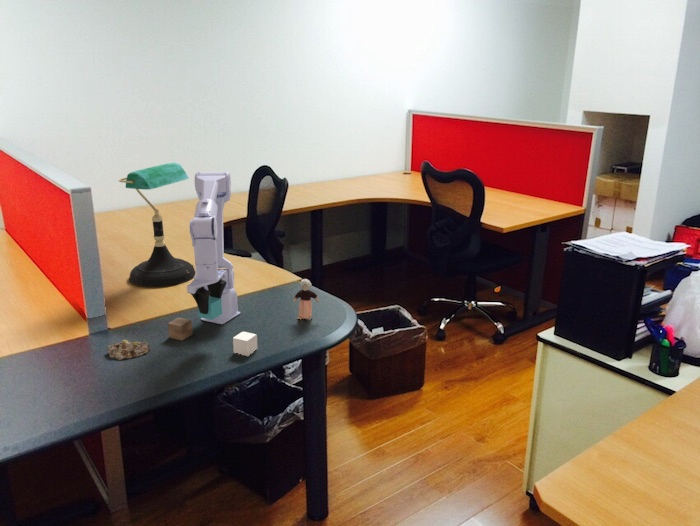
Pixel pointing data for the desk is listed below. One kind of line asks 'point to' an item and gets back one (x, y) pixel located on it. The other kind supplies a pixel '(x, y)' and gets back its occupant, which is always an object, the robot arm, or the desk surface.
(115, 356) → the mineral rock
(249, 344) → the white block
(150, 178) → the banker's lamp
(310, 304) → the grandmother figurine
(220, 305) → the teal block
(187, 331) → the walnut block
